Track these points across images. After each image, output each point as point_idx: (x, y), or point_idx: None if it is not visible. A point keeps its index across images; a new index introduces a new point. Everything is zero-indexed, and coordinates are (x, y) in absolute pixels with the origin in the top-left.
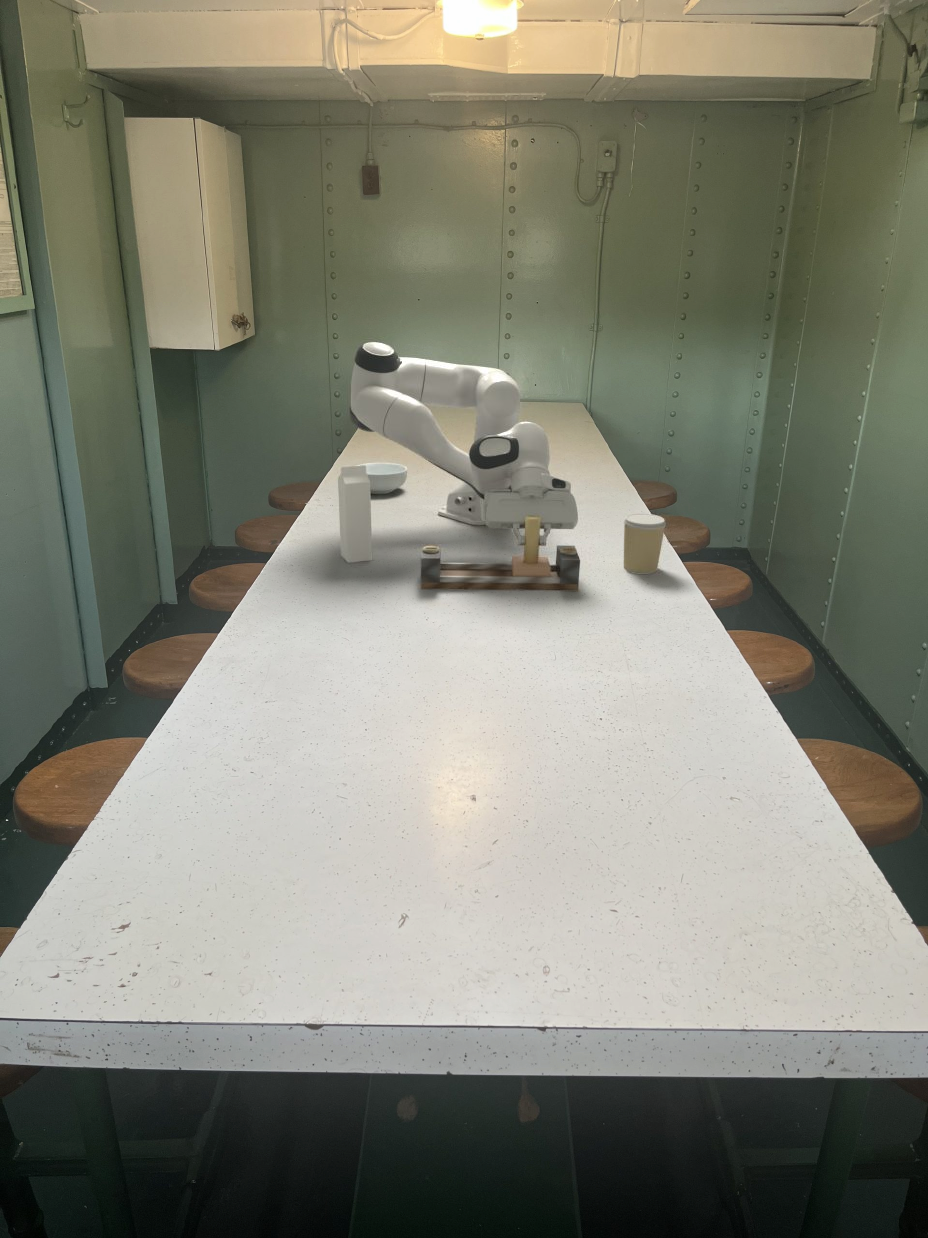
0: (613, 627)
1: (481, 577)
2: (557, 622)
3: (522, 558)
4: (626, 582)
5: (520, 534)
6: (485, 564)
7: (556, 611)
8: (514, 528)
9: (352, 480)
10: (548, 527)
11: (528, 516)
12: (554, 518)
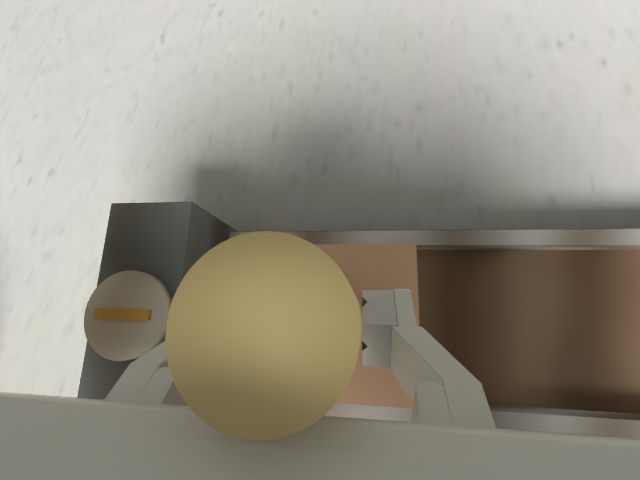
0: (166, 6)
1: (550, 230)
2: (292, 15)
3: (367, 370)
4: (24, 318)
5: (399, 327)
6: (548, 413)
7: (283, 80)
8: (465, 374)
9: None
10: (145, 370)
11: (313, 392)
12: (12, 426)
